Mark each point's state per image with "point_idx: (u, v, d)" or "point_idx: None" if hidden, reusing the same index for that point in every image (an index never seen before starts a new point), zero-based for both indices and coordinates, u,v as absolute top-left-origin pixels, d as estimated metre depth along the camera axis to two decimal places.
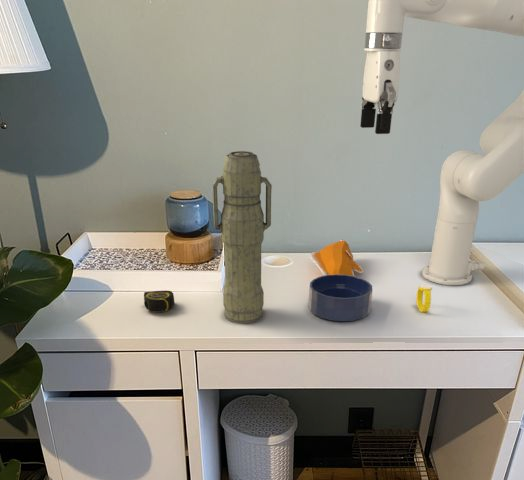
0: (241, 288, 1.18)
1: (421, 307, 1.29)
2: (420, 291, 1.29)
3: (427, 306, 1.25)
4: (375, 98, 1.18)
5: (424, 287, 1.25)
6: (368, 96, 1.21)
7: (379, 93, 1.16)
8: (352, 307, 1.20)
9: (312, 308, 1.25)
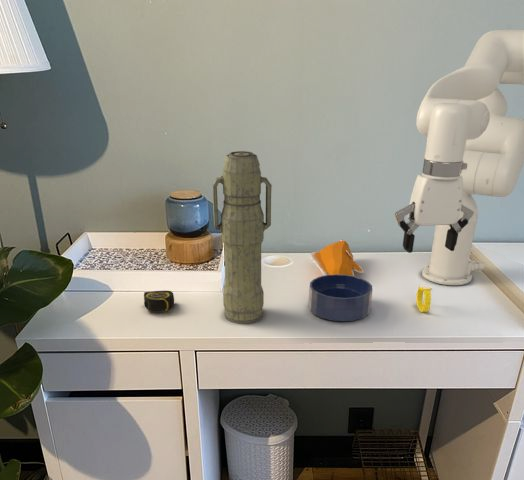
0: (241, 288, 1.18)
1: (421, 307, 1.29)
2: (420, 291, 1.29)
3: (427, 306, 1.25)
4: (455, 220, 1.17)
5: (424, 287, 1.25)
6: (438, 221, 1.16)
7: (459, 214, 1.17)
8: (352, 307, 1.20)
9: (312, 308, 1.25)
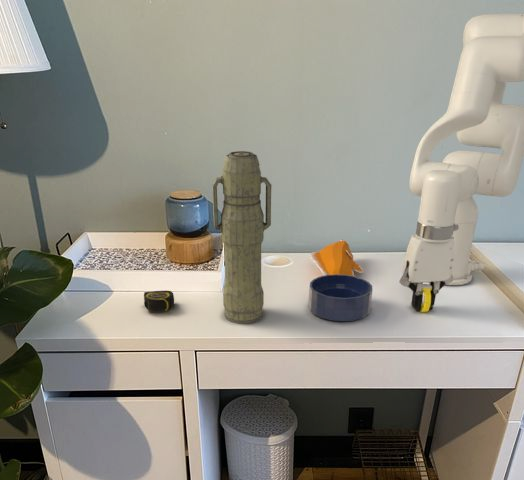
0: (241, 288, 1.18)
1: (421, 307, 1.29)
2: None
3: (427, 306, 1.25)
4: (448, 277, 1.23)
5: (424, 287, 1.25)
6: (432, 278, 1.23)
7: None
8: (352, 307, 1.20)
9: (312, 308, 1.25)
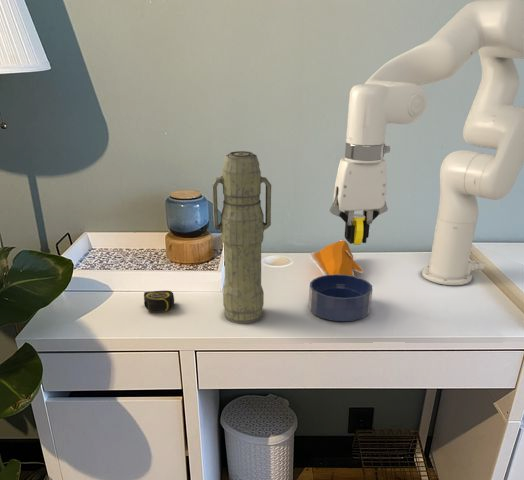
0: (241, 288, 1.18)
1: None
2: (354, 223, 1.21)
3: (359, 237, 1.17)
4: (381, 205, 1.15)
5: (357, 217, 1.17)
6: (363, 205, 1.14)
7: None
8: (352, 307, 1.20)
9: (312, 308, 1.25)
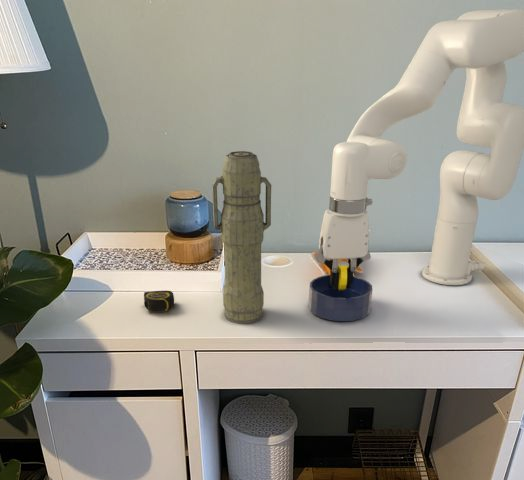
0: (241, 288, 1.18)
1: (340, 285, 1.26)
2: (339, 269, 1.26)
3: (343, 284, 1.22)
4: (364, 254, 1.20)
5: (341, 264, 1.22)
6: (347, 254, 1.20)
7: None
8: (352, 307, 1.20)
9: (312, 308, 1.25)
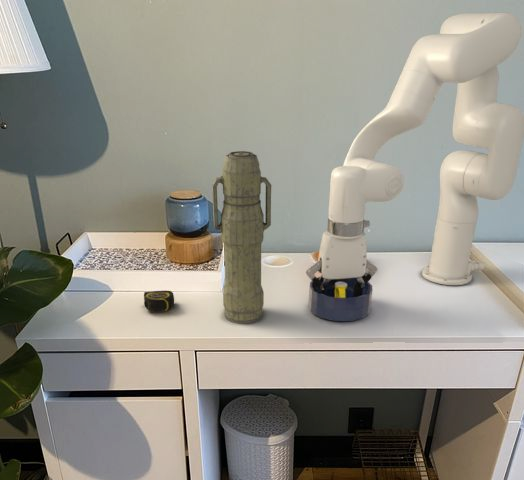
0: (241, 288, 1.18)
1: None
2: (338, 289, 1.28)
3: None
4: (362, 274, 1.23)
5: (339, 285, 1.24)
6: (345, 275, 1.22)
7: None
8: (352, 307, 1.20)
9: (312, 308, 1.25)
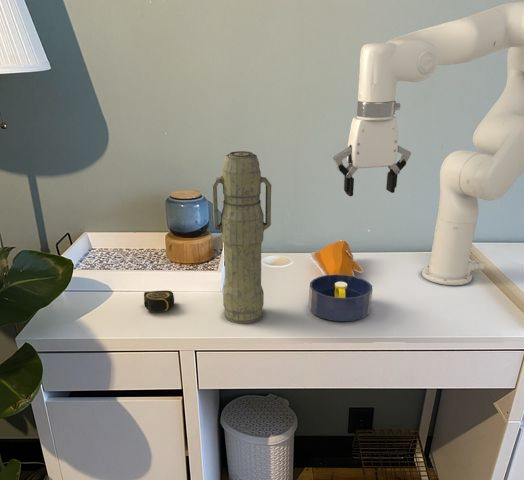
0: (241, 288, 1.18)
1: None
2: (338, 289, 1.28)
3: None
4: (393, 161, 1.20)
5: (339, 285, 1.24)
6: (376, 162, 1.19)
7: (396, 155, 1.20)
8: (352, 307, 1.20)
9: (312, 308, 1.25)
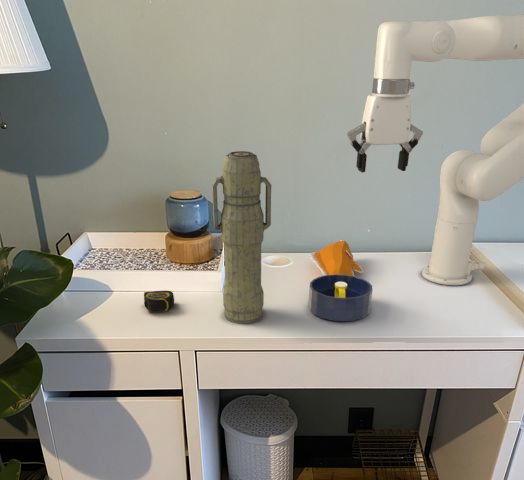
0: (241, 288, 1.18)
1: None
2: (338, 289, 1.28)
3: None
4: (405, 139, 1.23)
5: (339, 285, 1.24)
6: (389, 139, 1.22)
7: None
8: (352, 307, 1.20)
9: (312, 308, 1.25)
